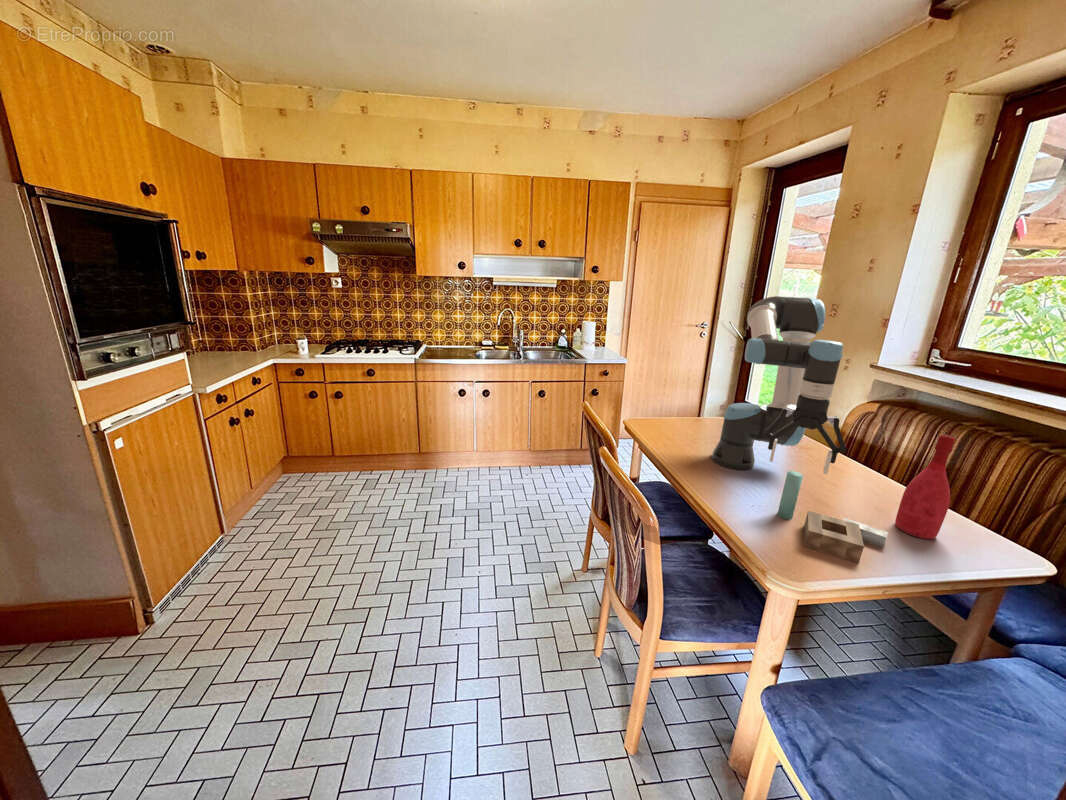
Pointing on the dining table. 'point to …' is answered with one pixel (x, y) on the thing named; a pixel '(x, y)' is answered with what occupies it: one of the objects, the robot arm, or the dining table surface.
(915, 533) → the wine bottle
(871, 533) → the grey bar
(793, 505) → the peg
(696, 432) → the dining table surface
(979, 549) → the dining table surface
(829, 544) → the socket block
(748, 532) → the dining table surface
